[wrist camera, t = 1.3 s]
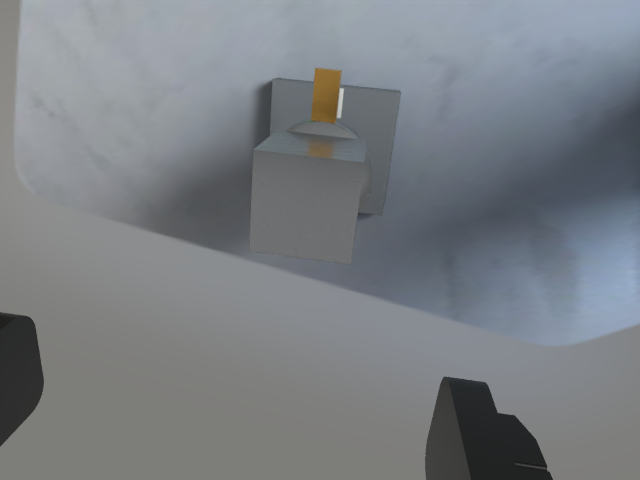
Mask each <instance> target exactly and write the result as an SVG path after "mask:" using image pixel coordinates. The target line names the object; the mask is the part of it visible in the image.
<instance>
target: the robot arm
mask: <svg viewBox="0 0 640 480" xmlns="http://www.w3.org/2000/svg"><path fill="white" fill-rule="evenodd" d="M43 384H44V379H43V372H42V366H41V359H40V353H39V347H38V340H37V334H36V328H35V324H34V322H33V320H32V319H31V318H30V317H27V316H22V315H15V314H8V313H1V312H0V446H1V445H2V444H3V443H4V442H5V441H6V440H7V439H8V438H9V437H10V436H11V434H12V433H13V432H14V431H15V430H16V429H17V428H18V427H19V426H20V425H21V424H22V423H23V422H24V421H25V420H26V419H27V417H28V416H29V415H30V414H31V413H32V412H33V410H34V409H35V408H36V406H37V404H38V402H39V400H40V398H41V395H42V391H43ZM425 470H426V480H553V479H552V477H551V474H550V472H547V465H546V462H545V460H544V458H543V455H542V453H541V450H540V448H539V445H538V443H537V441H536V439H535V438H534V437H533V436H532V434H531V433H530V432H529V431H528V430H527V429H526V428H525V427H524V425H522V423H521V422H520V421H519V420H518V419H517V418H516V416H514V415H507V414H500V413H497V410H496V407H495V404H494V401H493V398H492V395H491V393H490V390H489V387H488V385H487V384H486V383H485V382H479V381H472V380H465V379H458V378H451V377H444V378H443V379H442V382H441V384H440V389H439V392H438V396H437V401H436V405H435V410H434V414H433V418H432V422H431V426H430V430H429V435H428V439H427V445H426V458H425Z"/></svg>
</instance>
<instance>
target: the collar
mask: <svg viewBox="0 0 640 480" xmlns="http://www.w3.org/2000/svg"><path fill="white" fill-rule="evenodd" d="M341 74H342V70H334V69H324V68H315V78H314V90H313V102H312V114H311V119H307V120H303V121H301V122H298V123H296V124H295V125H293V126H291V127H290V128H288V129H287V130H286V131H282V130H276V131H275V132H274V133H273V134H271V135H270V136H269V137H268V138H267V139H265V140H264V141H263V142H262V143H261V144H259V145H258V146H257V147H256V148H255V149H253V167H252V192H251V217H250V242H249V251H251V252H258V253H266V254H274V255H282V256H289V257H297V258H305V259H312V260H320V261H328V262H336V263H343V264H351V261H352V253H353V245H354V238H355V230H356V222H357V215H358V214H359V213H360V211H361V210H362V209H363V207H364V206H365V204H366V203H367V201H368V199H369V196H370V193H371V189H372V182H373V165H372V159H371V155H370V152H369V150H368V148H367V146H366V140H363V139H362V138H361V137H360V136H359V135H358V134H357V133H356V132H355V131H354V130H353V129H352V128H350V127H349V126H347V125H345V124H343V123H341V122H339V121H336V120H337V112H338V103H339V93H340V84H341Z"/></svg>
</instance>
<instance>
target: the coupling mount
mask: <svg viewBox="0 0 640 480" xmlns="http://www.w3.org/2000/svg"><path fill="white" fill-rule="evenodd" d="M313 90H314V82H310V81H301V80H292V79H282V78H275V79H272V98H271V117H270V135H271V134H273V133H274V132H275V131H276V130H282V131H286V130H287V129H288V128H290V127H291V126H293V125H295V124H296V123H298V122H301V121H303V120H307V119H311V114H312V102H313ZM400 95H401V92H400V91H395V90H386V89H377V88H367V87H358V86H348V85H340V93H339V103H338V112H337V120H336V121H339V122H341V123H343V124H345V125H347V126H349V127H350V128H352V129H353V130H354V131H355V132H356V133H357V134H358V135H359V136H360V137H361V138H362V139H363V140H366V146H367V148H368V150H369V152H370V155H371V159H372V165H373V182H372V189H371V193H370V196H369V199H368V201H367V203H366V204H365V206H364V207H363V209H362V210H361V211H360V213H366V214H374V215H382V213H383V207H384V200H385V194H386V187H387V180H388V174H389V167H390V161H391V154H392V148H393V141H394V134H395V128H396V121H397V115H398V108H399V101H400Z"/></svg>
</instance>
